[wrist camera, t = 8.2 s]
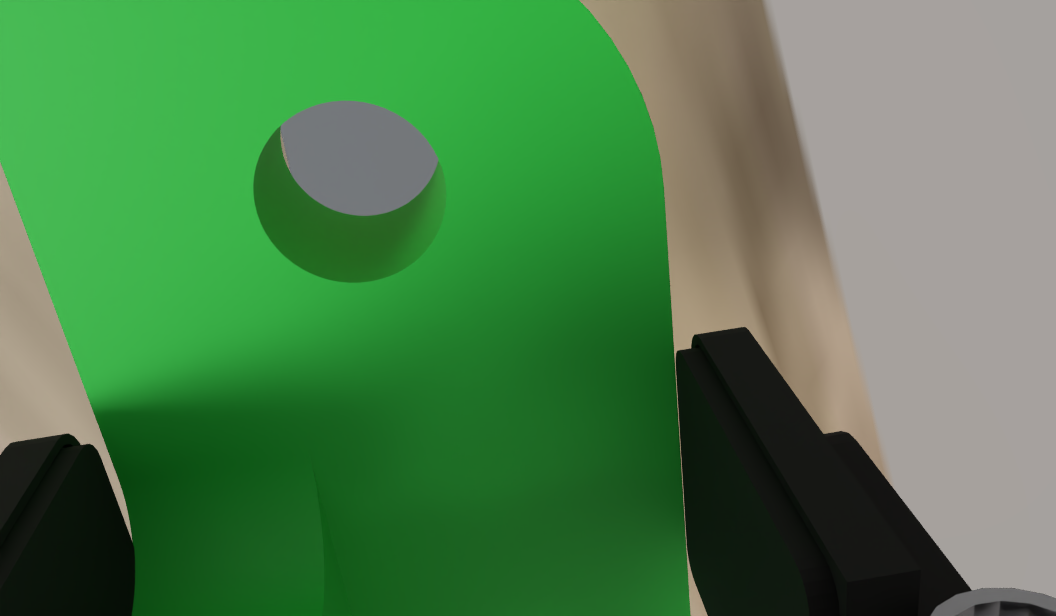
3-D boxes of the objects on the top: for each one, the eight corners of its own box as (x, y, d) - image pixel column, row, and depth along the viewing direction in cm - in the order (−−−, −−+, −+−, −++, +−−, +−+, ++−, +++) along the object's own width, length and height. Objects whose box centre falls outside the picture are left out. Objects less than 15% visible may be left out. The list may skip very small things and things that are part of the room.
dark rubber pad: (255, -4, 24) (250, 0, 23) (527, -42, 25) (530, -39, 24) (321, 283, 28) (319, 294, 27) (560, 246, 28) (564, 256, 27)
